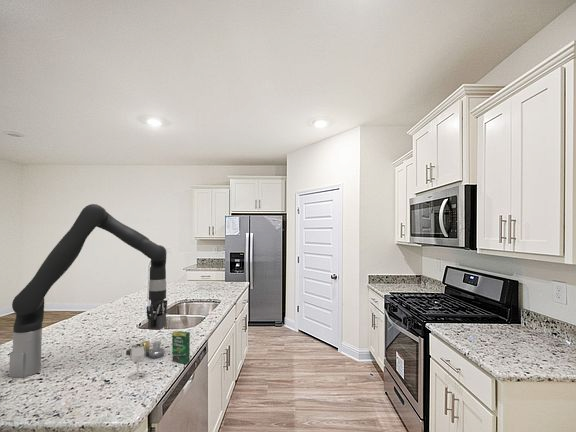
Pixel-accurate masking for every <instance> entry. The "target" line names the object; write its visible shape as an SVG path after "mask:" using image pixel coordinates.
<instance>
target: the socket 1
mask: <svg viewBox="0 0 576 432" xmlns="http://www.w3.org/2000/svg"><path fill="white" fill-rule="evenodd" d="M150 342H151V341H149V340H144V341H141V342H140V344H144V345H145V348H146V350H150V349H151V348H150V345H151V343H150Z"/></svg>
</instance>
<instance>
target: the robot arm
mask: <svg viewBox="0 0 576 432" xmlns="http://www.w3.org/2000/svg"><path fill="white" fill-rule="evenodd" d="M96 227H97V228H99V229H102V230H105V231H106V232H108V233H110V234H112V235H114V236H115V237H116V238H118V239H119V240H121V241H122V242H123V243H125V244H126V245H128V246H129V247H131V248H133V249H135V250H136V251H139V252H140V253H142V254H143V255H144V256H145V257H147V258H149V259H150V268H149V281H148V300H149V301H150V305H147V306H145V307H146V318H147V320H148V319H150V320H151V328H155V327H156V316H157V314H158V313H166V314H167V312H168V311H167V309H168V300H167V299H166V298H167V277H166V276H167V271H166V270H167V269H166V264H167V249H166V247H164V246H163V245H159V244H157V243H155V242H154V241H152V240H150V238H148V237H147V236H145V235H144V234H142V233H141V232H139V231H137V230H135V229H134V228H132V227H130V226H128V225H126V224H124V223H122V222H120V221H119V220H117V219H116V218H115V217H114V216H112V214H110V213H109V212H108V211H106V209H105V208H104V207H103V206H101V205H99V204H97V203H96V204H95V203H91V204H87V205H86V206H85V207H84V208H82V210H81V212H79V215H78V216H77V217H76V219H75V221H74V223H73V224H72V225H71V227H70V228H69V230H67V232H66V233H65V234H64V236H62V238H61V239H60V240H59V241H58V242H57V244H56V245H55V246H54V247H53V248H52V250H51V251H50V252H49V254H48V255H47V257H46V258H45V259H44V261H43V262H42V263H41V265H40V266H39V268H38V270H37V271H36V273H35V275H34V276H33V278H31V280H30V281H29V282H28V283H27V285H26V286H25V287H24V288H23V289H22V290H21V291H20V292H18V294H16V295H15V297H13V300H12V303H11V307H12V310H13V312H14V313H15V320H14V323H13V327H12V328H13V330H12V351H10V352H9V369H8V370H9V371H8V376H9V378H10V377H11V378H20V379H21V378H26V377H29V376H33V375H34V374H38V373H39V372H40V371H41V369H42V364H41V363H42V345H43V344H42V343H43V342H42V341H43V340H42V337H43V322H44V316H45V297H46V295H47V293H48V292H49V290H50V289H51V288H52V286H54V284H56V282H57V281H58V280H59V279H60V278H62V277H63V276H64V274H65V273H66V272H67V271H68V270H69V268H71V266H72V265H73V263H74V262H75V260H76V259H77V258H78V257H79V255H80V253H81V252H82V249H83V247H84V246H85V242H86V240H87V238H88V237H89V236H90V235H91V234H92V232H93V231H94V230H95V229H96Z"/></svg>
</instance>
